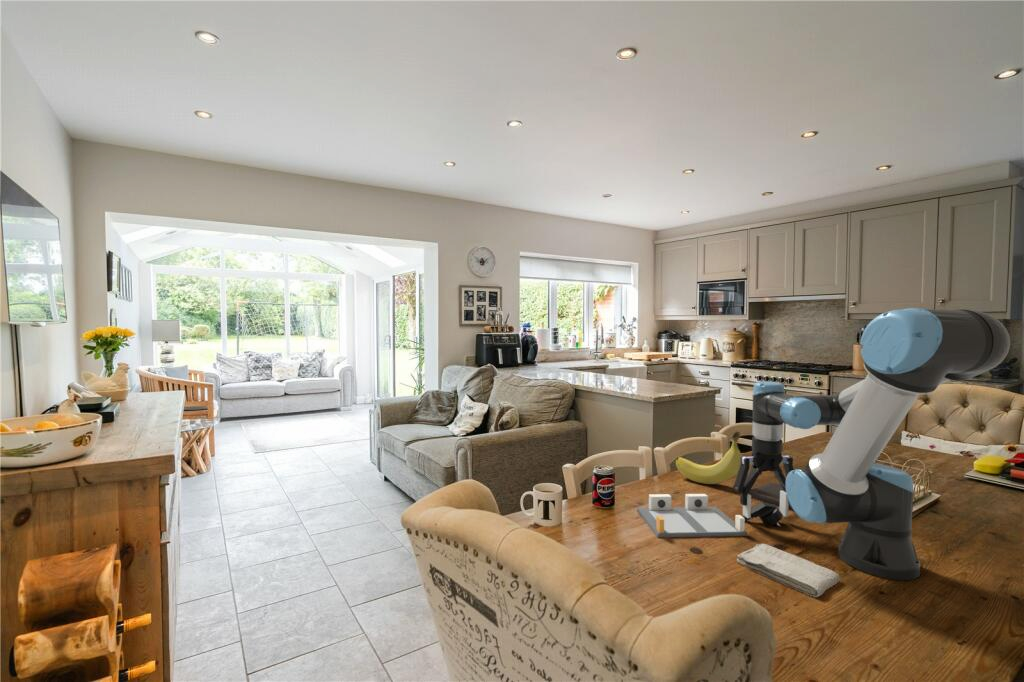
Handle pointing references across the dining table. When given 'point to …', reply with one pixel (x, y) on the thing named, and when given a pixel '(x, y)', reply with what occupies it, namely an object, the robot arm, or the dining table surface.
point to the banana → (713, 466)
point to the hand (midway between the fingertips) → (765, 515)
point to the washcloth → (788, 569)
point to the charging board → (689, 518)
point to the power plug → (766, 513)
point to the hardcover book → (768, 494)
